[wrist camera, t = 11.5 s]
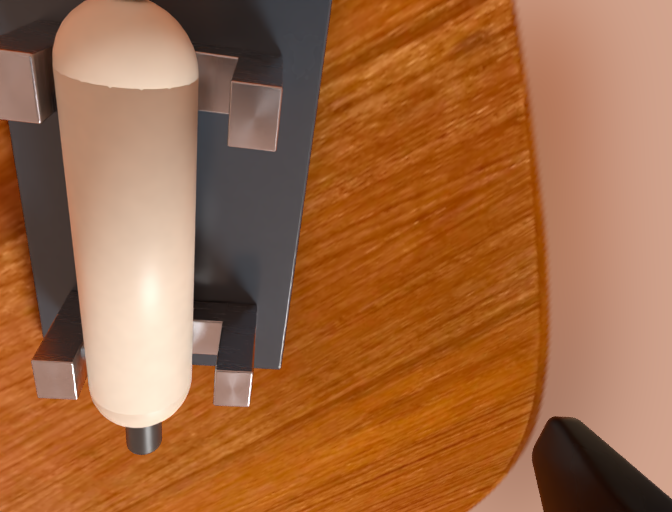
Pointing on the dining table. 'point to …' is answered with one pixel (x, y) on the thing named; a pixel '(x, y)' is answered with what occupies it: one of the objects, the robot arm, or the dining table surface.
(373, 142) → the dining table surface
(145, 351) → the soldering pen
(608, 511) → the robot arm
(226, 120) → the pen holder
